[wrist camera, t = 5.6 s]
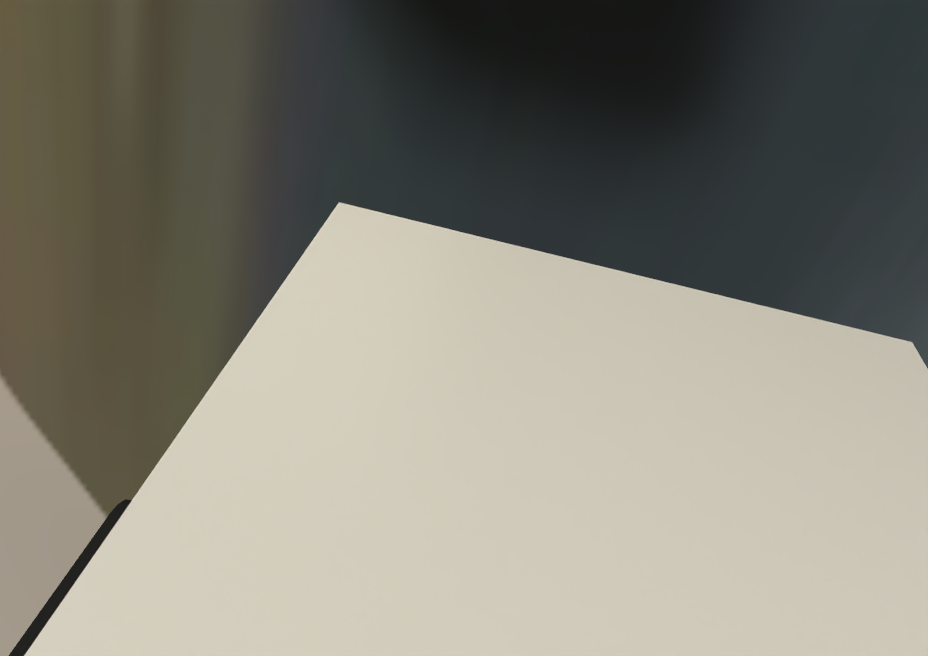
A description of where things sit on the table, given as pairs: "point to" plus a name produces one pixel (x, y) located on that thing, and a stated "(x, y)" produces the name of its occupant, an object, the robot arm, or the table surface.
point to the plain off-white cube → (522, 473)
